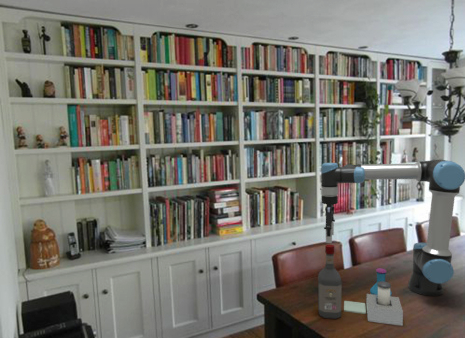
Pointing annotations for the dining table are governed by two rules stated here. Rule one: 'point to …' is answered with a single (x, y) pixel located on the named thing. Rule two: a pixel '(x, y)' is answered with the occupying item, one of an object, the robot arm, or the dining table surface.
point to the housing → (384, 311)
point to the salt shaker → (384, 293)
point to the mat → (354, 307)
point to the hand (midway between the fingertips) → (329, 238)
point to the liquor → (329, 288)
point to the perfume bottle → (380, 277)
